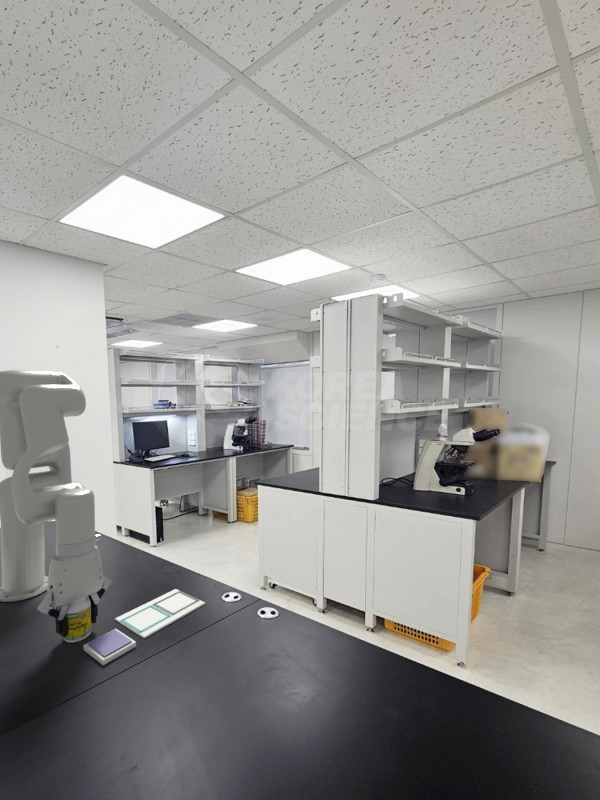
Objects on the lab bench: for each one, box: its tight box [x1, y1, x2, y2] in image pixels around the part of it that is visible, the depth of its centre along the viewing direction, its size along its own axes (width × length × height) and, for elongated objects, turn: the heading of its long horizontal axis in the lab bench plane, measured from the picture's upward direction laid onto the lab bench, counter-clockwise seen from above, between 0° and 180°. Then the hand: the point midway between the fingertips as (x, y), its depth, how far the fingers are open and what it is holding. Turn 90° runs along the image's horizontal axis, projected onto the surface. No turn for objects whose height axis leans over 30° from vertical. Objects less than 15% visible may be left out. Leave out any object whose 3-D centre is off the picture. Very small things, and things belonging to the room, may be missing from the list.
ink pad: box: [83, 628, 137, 666], centre depth 82 cm, size 8×7×1 cm
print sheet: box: [114, 588, 206, 639], centre depth 95 cm, size 12×17×1 cm
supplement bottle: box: [63, 596, 92, 643], centre depth 86 cm, size 5×5×10 cm
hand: (77, 626), depth 86 cm, fingers closed on supplement bottle, 5 cm apart
